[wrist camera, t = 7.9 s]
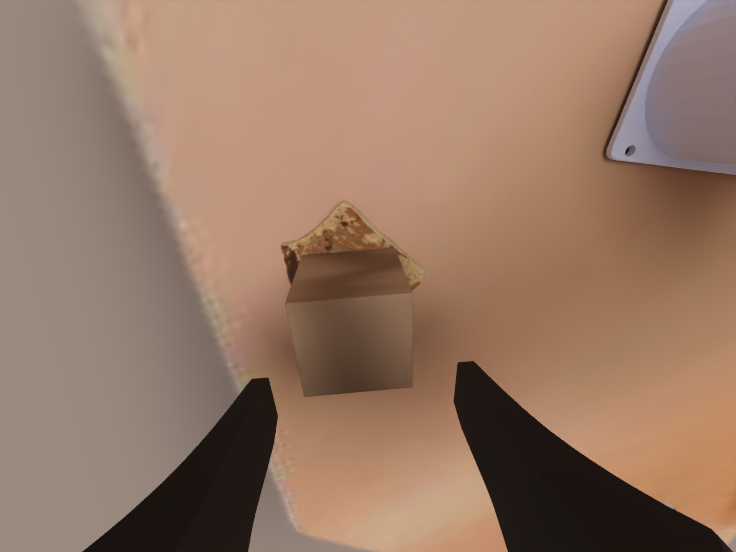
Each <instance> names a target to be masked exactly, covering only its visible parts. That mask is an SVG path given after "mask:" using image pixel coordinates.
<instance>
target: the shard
mask: <svg viewBox="0 0 736 552" xmlns="http://www.w3.org/2000/svg"><path fill="white" fill-rule="evenodd" d="M390 248H395V249H396V252H397V254H398V257H399V259H400V262H401V265H402V267H403V270H404V272H405V275H406V277H407V280H408V282H409V285H410V287H411V290H414V289H415V288H416V287H417V286H418V285H419V284H420V283H421V282H422V281H423V279H424V276H425V273H426V270H425V269H424V268H423V267H422V266H421V265H420V264H418V263H417V262H415V261H414V260H412V259H411V258H410V257H409V256H408V255H406V254H405V253H404V252H403V251H402V250H401V249H400V248H398V247H397V246H396V245H395V244H394V242H392V241H391V240H390V239H388V238H387V237H386V236H385V235H383V234H382V233H381V232H380V231H379V230H378V229H377V228H376V227H375V226H374V225H373V224H372V223H370V222H369V220H367V219H366V218H365V217H364V216H363V215H362V214H361V213H360V212H359V211H358V210H357V209H355V208H354V207H353V205H350V204H349V203H347V202H342V203H341V204H340V205H339V206H338V207H337V208H336V209H335V210H334V211H333V212H332V214H331V215H330V216H329V217H328V218H327V219H326V220H325V221H324V222H323V223H322V224H321V225H320V226H319V227H318V228H317V229H316V230H314V231H313V232H312V233H311V234H310V235H308V236H306V237H305V238H303V239H301V240H297V241H291V242H285V243H282V244H281V250H282V253H283V255H284V261H285V264H286V267H287V275H288V279H289V282H290V284H291V285H292V282H293V279H294V277H295V274H296V271H297V268H298V265H299V262H300V260H301V257H302V255H314V254H327V253H339V252H352V251H365V250H377V249H390Z"/></svg>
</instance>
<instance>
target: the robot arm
mask: <svg viewBox="0 0 736 552" xmlns="http://www.w3.org/2000/svg"><path fill="white" fill-rule="evenodd" d="M627 147H629V151H628V153H627V154H626V155H625V151H626V149H627ZM606 153H607V157H608V158H609V159H612V160H620V161H628V162H636V163H644V164H652V165H660V166H668V167H676V168H684V169H692V170H700V171H708V172H716V173H724V174H732V175H736V0H668V2H667V4H666V6H665V9H664V11H663V14H662V16H661V19H660V21H659V23H658V26H657V28H656V31H655V33H654V36H653V38H652V40H651V43H650V45H649V48H648V50H647V53H646V55H645V58H644V60H643V62H642V65H641V67H640V70H639V72H638V75H637V77H636V79H635V82H634V84H633V87H632V89H631V92H630V94H629V96H628V99H627V101H626V104H625V106H624V109H623V111H622V114H621V116H620V118H619V121H618V123H617V126H616V128H615V131H614V133H613V135H612V138H611V140H610V143H609V145H608V148H607V151H606ZM454 404H455V407H456V411H457V414H458V418H459V421H460V424H461V428H462V430H463V433H464V435H465V437H466V440H467V442H468V445H469V447H470V450H471V452H472V454H473V457H474V459H475V461H476V464H477V466H478V468H479V471H480V473H481V476H482V478H483V480H484V483H485V485H486V487H487V490H488V493H489V495H490V498H491V500H492V503H493V506H494V509H495V512H496V515H497V518H498V521H499V525H500V528H501V531H502V534H503V537H504V540H505V543H506V547H507V550H508V552H733V551H732V550H731V549H730V548H729V547H728V546H727V545H726V544H725V543H724V542H723V541H722V539H721V538H720V537H719V536H718V535H717V534H716V533H715V532H714V531H713V530H712V529H710V528H708V527H707V526H705V525H703V524H701V523H699V522H697V521H695V520H693V519H691V518H689V517H687V516H686V515H684V514H682V513H680V512H678V511H676V510H674V509H672V508H670V507H668V506H666V505H665V504H663V503H661V502H659V501H657V500H655V499H654V498H652V497H650V496H648V495H647V494H645V493H643V492H642V491H640V490H638V489H636V488H635V487H633V486H631V485H629V484H628V483H626V482H625V481H623V480H621V479H620V478H618V477H616V476H615V475H613V474H611V473H610V472H608V471H607V470H605V469H604V468H602V467H601V466H599V465H598V464H596V463H595V462H593V461H591V460H590V459H588V458H587V457H585V456H584V455H583V454H581V453H580V452H578V451H577V450H575V449H574V448H573V447H571V446H570V445H568V444H567V443H566V442H564V441H563V440H562V439H560V438H559V437H558V436H556V435H555V434H554V433H552V432H551V431H550V430H548V429H547V428H546V427H545V426H543V425H542V424H541V423H540V422H539V421H537V420H536V419H535V418H534V417H533V416H531V415H530V414H529V413H528V412H527V411H526V410H524V409H523V408H522V407H521V406H520V405H519V404H518V403H517V402H516V401H514V400H513V399H512V398H511V397H510V396H509V395H508V394H507V393H506V392H505V391H504V390H503V389H502V388H500V387H499V386H498V385H497V384H496V383H495V382H494V381H493V380H492V379H491V378H490V377H489V376H488V375H487V374H486V373H485V372H484V371H483V370H482V369H481V368H480V367H479V366H478V365H477V364H476V363H475V362H474V361H470V362H458V365H457V375H456V384H455V394H454ZM277 419H278V414H277V410H276V406H275V402H274V398H273V394H272V390H271V386H270V382H269V378H257V379H251V381H250V382H249V383H248V384H247V385H246V387H245V388H244V389H243V391H242V392H241V393H240V395H239V396H238V397H237V399H236V400H235V401H234V403H233V404H232V405H231V406H230V408H229V409H228V410H227V411H226V413H225V414H224V415H223V416H222V418H221V419H220V420H219V421H218V422H217V424H216V425H215V426H214V427H213V429H212V430H211V431H210V432H209V433H208V434H207V436H206V437H205V438H204V439H203V440H202V441H201V442H200V443H199V445H198V446H197V447H196V448H195V449H194V450H193V451H192V452H191V454H190V455H189V456H188V457H187V458H186V459H185V460H184V461H183V462H182V463H181V464H180V465H179V466H178V467H177V468H176V469H175V471H173V472H172V473H171V474H170V475H169V477H167V478H166V479H165V481H164V482H162V483H161V484H160V485H159V486H158V487H157V488H156V489H155V490H154V491H153V492H152V493H151V494H150V495H149V496H147V497H146V498H145V499H144V500H143V501H142V502H141V503H140V504H139V505H137V506H136V507H135V508H134V509H133V510H132V511H131V512H130V513H129V514H127V515H126V516H125V517H124V518H123V519H122V520H121V521H119V522H118V523H117V524H116V525H115V526H113V527H112V528H111V529H110V530H109V531H107V532H106V533H105V534H104V535H103V536H101V537H100V538H99V539H98V540H96V541H95V542H94V543H93V544H91V545H90V546H89V547H88V548H86V549H85V550H84V551H83V552H248V548H249V543H250V538H251V532H252V527H253V522H254V518H255V513H256V509H257V505H258V502H259V498H260V494H261V490H262V487H263V483H264V479H265V476H266V472H267V468H268V464H269V461H270V457H271V453H272V449H273V445H274V439H275V433H276V426H277Z"/></svg>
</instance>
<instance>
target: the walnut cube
mask: <svg viewBox="0 0 736 552" xmlns="http://www.w3.org/2000/svg"><path fill="white" fill-rule="evenodd" d="M285 306H286V311H287V316H288V320H289V325H290V330H291V335H292V340H293V344H294V349H295V354H296V359H297V364H298V369H299V373H300V378H301V383H302V388H303V393H304V397H310V396H321V395H332V394H343V393H354V392H365V391H376V390H387V389H398V388H409V387H412V362H413V293H412V290H411V287H410V285H409V282H408V280H407V277H406V275H405V272H404V270H403V267H402V265H401V262H400V259H399V257H398V254H397V252H396V249H395V248H390V249H377V250H365V251H352V252H339V253H327V254H314V255H302V257H301V260H300V262H299V265H298V268H297V271H296V274H295V277H294V279H293V282H292V285H291V288H290V291H289V294H288V296H287V299H286V302H285Z"/></svg>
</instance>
